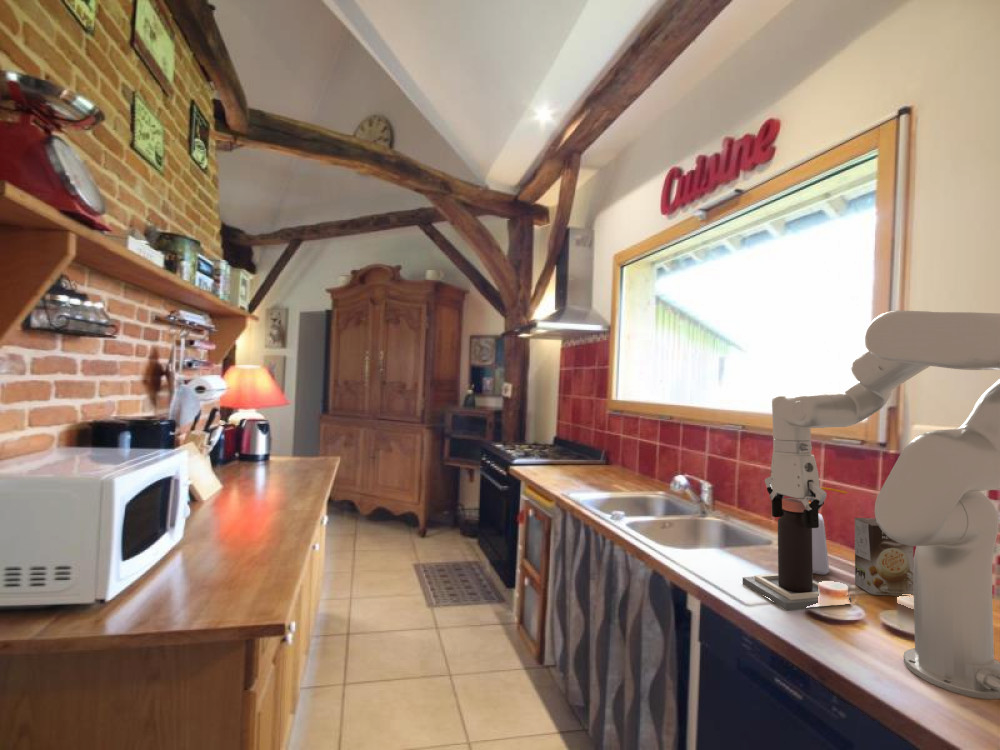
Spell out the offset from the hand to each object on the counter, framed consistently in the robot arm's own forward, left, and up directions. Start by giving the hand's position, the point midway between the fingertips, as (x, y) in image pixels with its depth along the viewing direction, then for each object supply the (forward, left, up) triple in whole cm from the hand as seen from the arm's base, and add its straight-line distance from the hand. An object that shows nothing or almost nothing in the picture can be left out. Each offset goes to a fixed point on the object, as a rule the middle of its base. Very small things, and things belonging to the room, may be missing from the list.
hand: (794, 521), depth 110 cm
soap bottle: (+12, -17, -17) cm, 27 cm away
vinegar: (0, 0, -15) cm, 15 cm away
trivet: (0, 0, -17) cm, 17 cm away
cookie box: (-2, -22, -17) cm, 28 cm away
